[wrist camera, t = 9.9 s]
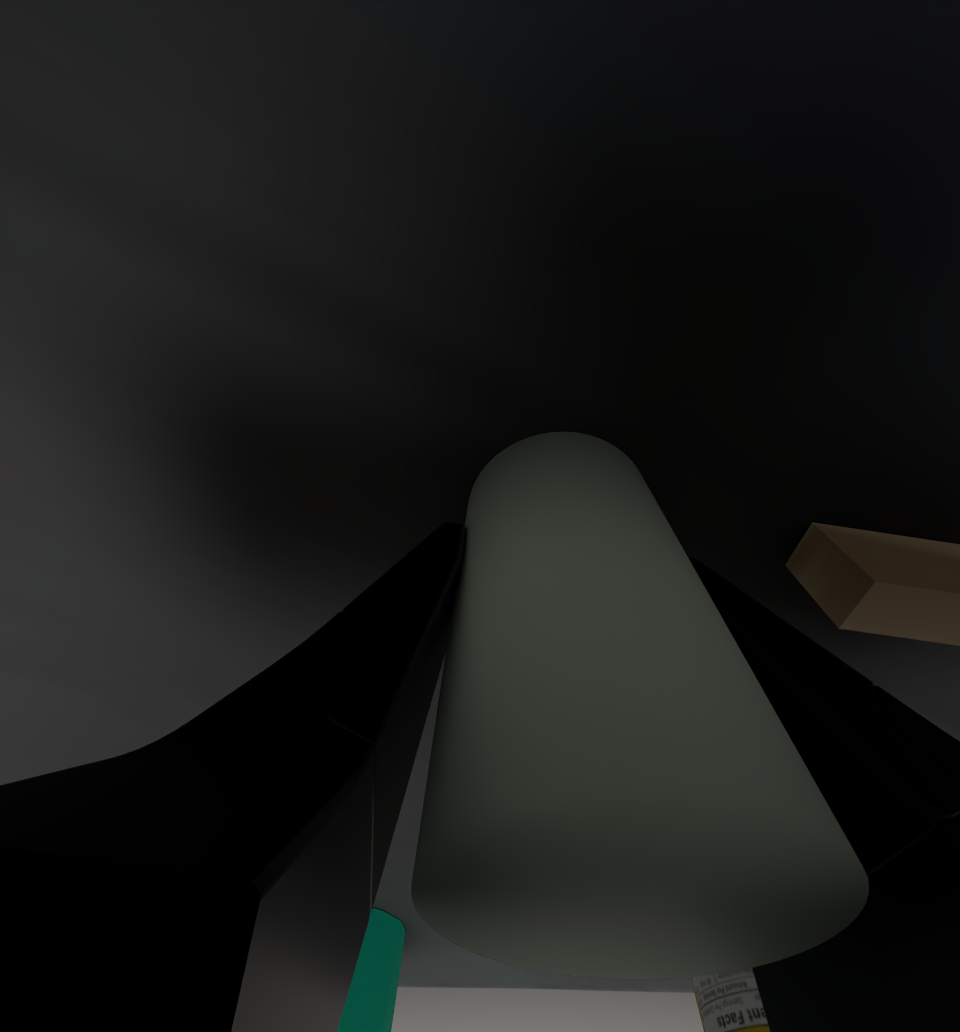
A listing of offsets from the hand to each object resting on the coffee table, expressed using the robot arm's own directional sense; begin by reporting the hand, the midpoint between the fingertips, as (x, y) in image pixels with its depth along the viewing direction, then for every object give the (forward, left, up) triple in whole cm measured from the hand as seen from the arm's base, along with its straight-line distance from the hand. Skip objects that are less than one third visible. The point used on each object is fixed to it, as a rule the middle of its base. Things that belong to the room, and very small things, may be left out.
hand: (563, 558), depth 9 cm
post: (0, 0, -2) cm, 2 cm away
